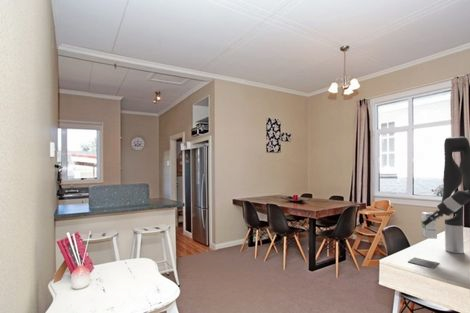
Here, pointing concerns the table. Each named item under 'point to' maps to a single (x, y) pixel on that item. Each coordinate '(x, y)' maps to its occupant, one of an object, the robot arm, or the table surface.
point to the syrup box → (428, 226)
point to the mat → (424, 262)
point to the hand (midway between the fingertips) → (426, 223)
